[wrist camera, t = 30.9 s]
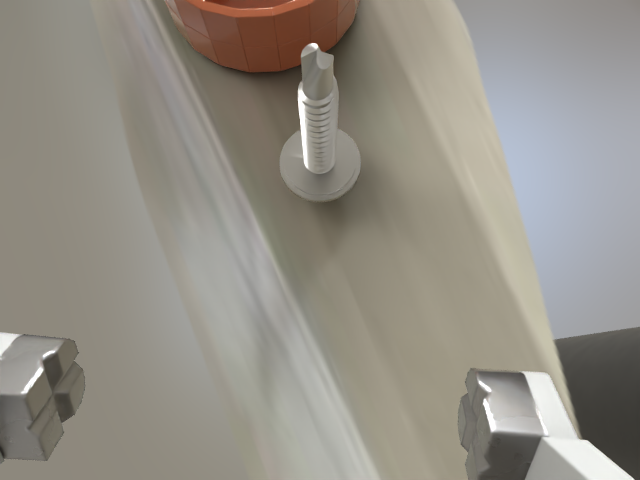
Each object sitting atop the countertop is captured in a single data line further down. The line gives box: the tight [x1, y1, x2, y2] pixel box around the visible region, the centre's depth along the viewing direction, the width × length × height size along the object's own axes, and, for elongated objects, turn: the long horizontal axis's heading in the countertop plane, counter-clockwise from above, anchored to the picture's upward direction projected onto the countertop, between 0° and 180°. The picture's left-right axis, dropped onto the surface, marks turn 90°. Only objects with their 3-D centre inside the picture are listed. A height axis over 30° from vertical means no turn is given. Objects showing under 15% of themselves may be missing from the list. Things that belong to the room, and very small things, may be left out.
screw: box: [279, 43, 361, 202], centre depth 26 cm, size 13×5×5 cm
